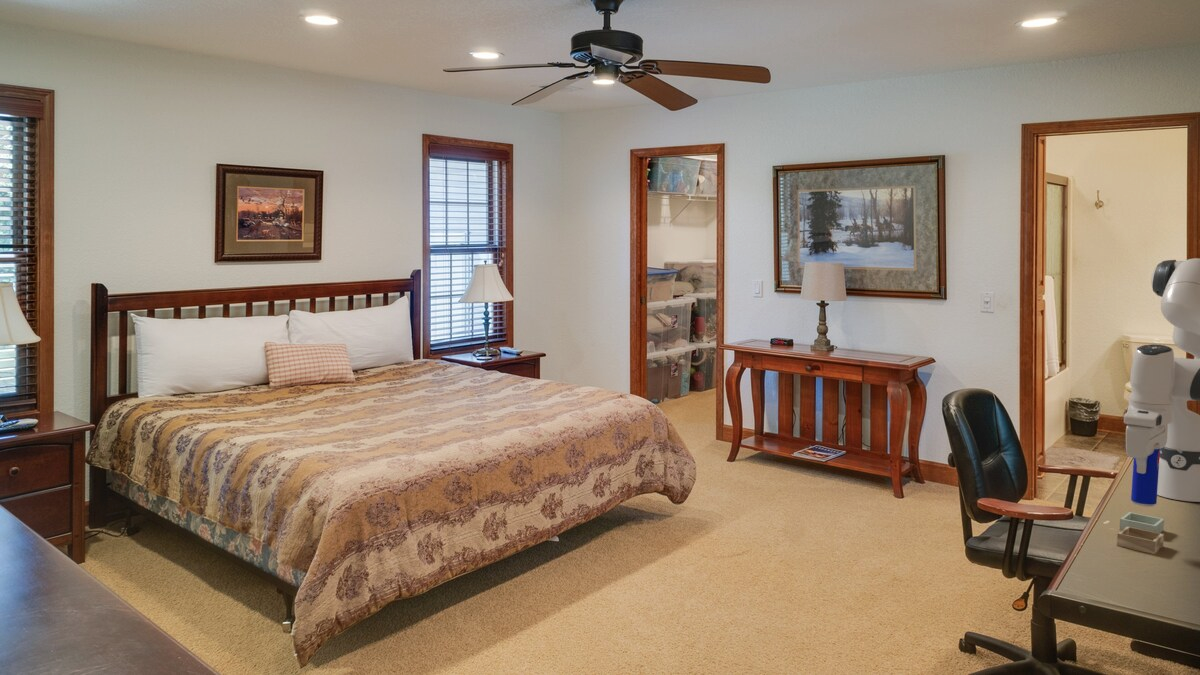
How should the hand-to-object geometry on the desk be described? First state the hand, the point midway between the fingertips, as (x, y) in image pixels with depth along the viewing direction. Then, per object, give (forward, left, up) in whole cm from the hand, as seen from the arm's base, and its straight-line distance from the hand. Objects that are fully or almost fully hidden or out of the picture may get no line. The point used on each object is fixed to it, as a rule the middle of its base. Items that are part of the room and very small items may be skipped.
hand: (1145, 470), depth 202 cm
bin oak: (0, 0, -19) cm, 19 cm away
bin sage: (-13, -3, -19) cm, 23 cm away
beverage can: (0, 0, -8) cm, 8 cm away
